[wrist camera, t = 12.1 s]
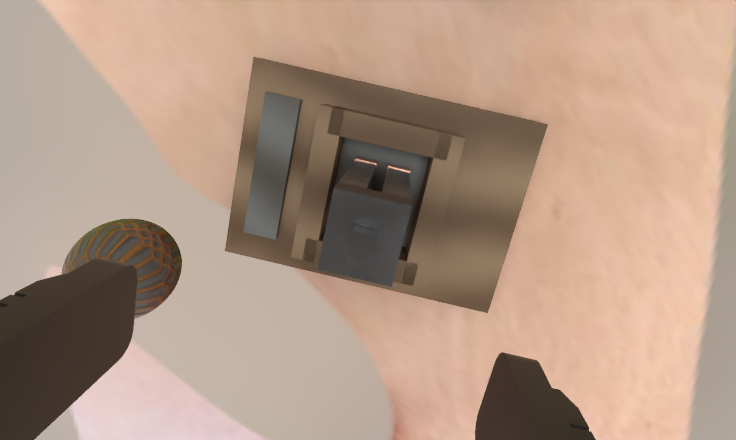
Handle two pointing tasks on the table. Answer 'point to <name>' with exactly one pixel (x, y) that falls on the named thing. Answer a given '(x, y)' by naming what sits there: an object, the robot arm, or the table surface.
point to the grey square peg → (367, 223)
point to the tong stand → (381, 177)
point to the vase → (133, 257)
